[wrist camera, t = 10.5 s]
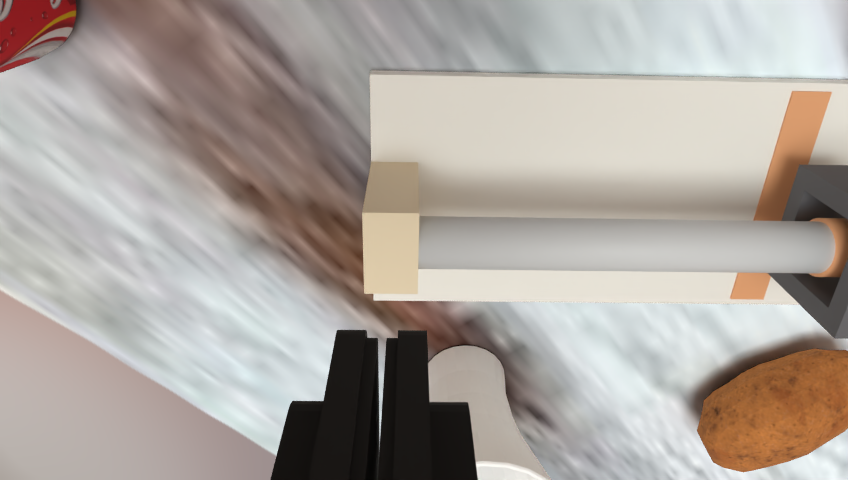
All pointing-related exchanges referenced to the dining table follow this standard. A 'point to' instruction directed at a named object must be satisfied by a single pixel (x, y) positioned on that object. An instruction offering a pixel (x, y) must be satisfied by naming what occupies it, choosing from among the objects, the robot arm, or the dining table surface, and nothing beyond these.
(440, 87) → the pipe stand
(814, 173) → the collar
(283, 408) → the dining table surface
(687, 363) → the dining table surface
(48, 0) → the soda can
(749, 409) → the potato
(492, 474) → the cup
